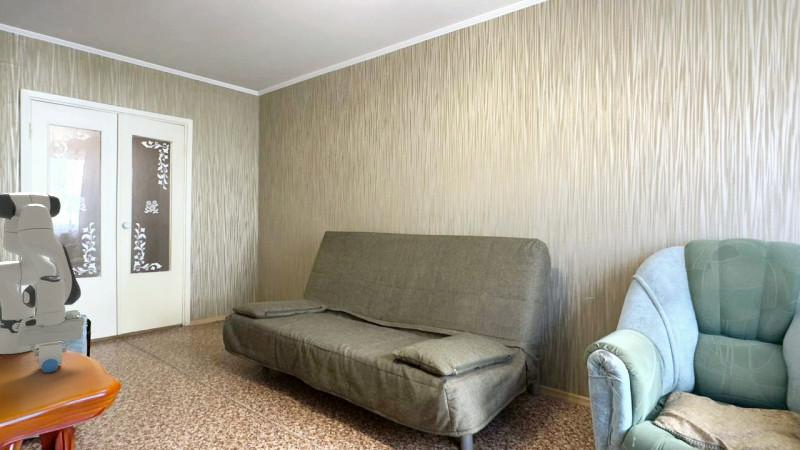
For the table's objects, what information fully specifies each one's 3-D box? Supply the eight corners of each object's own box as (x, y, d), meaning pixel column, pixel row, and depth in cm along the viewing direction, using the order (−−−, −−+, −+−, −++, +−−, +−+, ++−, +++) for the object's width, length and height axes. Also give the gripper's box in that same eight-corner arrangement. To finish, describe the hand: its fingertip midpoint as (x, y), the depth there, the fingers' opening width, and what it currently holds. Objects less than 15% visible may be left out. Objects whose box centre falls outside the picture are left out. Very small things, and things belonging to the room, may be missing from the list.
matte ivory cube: (39, 362, 170) (39, 343, 170) (61, 359, 174) (62, 340, 174) (38, 367, 165) (38, 347, 165) (62, 363, 169) (62, 344, 169)
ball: (41, 371, 165) (41, 358, 165) (58, 369, 168) (58, 356, 168) (41, 375, 161) (41, 362, 161) (58, 372, 164) (58, 359, 164)
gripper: (83, 313, 178) (83, 347, 178) (16, 320, 166) (16, 356, 166) (84, 316, 173) (84, 351, 173) (15, 323, 161) (15, 360, 161)
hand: (50, 353), depth 169 cm, fingers closed on matte ivory cube, 7 cm apart
